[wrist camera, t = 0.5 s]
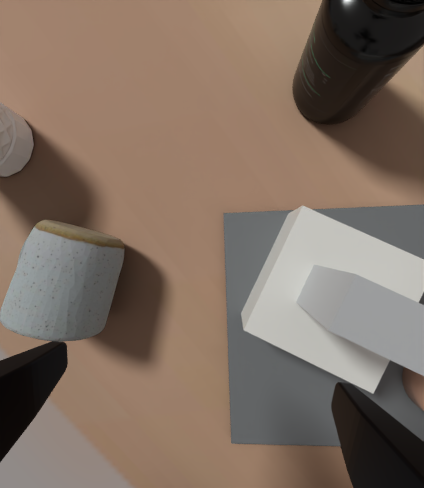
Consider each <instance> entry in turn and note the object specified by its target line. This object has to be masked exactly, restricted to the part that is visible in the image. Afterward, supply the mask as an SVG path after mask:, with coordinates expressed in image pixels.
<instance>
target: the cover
mask: <svg viewBox="0 0 424 488" xmlns="http://www.w3.org/2000/svg"><path fill="white" fill-rule="evenodd" d="M423 292H424V259H422V258H419V257H417V256H415V255H413V254H410V253H408V252H406V251H404V250H401V249H399V248H397V247H395V246H392V245H390V244H388V243H386V242H383V241H381V240H379V239H377V238H374V237H372V236H370V235H368V234H365V233H363V232H361V231H359V230H356V229H354V228H352V227H350V226H347V225H345V224H343V223H341V222H338V221H336V220H334V219H332V218H329V217H327V216H325V215H323V214H320V213H318V212H316V211H314V210H311V209H309V208H307V207H305V206H301V207H299V208H298V209H296V210H294V211H292V212H290V213H288V215H287V217H286V219H285V222H284V224H283V226H282V228H281V230H280V232H279V234H278V236H277V238H276V241H275V243H274V245H273V247H272V249H271V251H270V253H269V255H268V257H267V260H266V262H265V264H264V266H263V268H262V270H261V272H260V274H259V276H258V279H257V281H256V283H255V285H254V287H253V289H252V291H251V293H250V295H249V298H248V300H247V302H246V304H245V306H244V308H243V310H242V312H241V317H242V323H243V330H244V331H246V332H248V333H250V334H252V335H254V336H257V337H259V338H261V339H263V340H265V341H267V342H269V343H271V344H273V345H275V346H277V347H279V348H281V349H283V350H285V351H287V352H289V353H291V354H293V355H295V356H297V357H299V358H301V359H303V360H305V361H307V362H309V363H311V364H314V365H316V366H318V367H320V368H322V369H324V370H326V371H328V372H330V373H332V374H334V375H336V376H338V377H340V378H342V379H344V380H346V381H348V382H350V383H352V384H354V385H356V386H358V387H360V388H362V389H364V390H366V391H369V392H371V393H374V391H375V389H376V387H377V385H378V383H379V381H380V379H381V377H382V375H383V373H384V371H385V369H386V367H387V365H388V363H389V361H390V360H391V361H393V362H395V363H397V364H400V365H402V366H404V367H406V368H408V369H410V370H412V371H414V372H416V373H418V374H420V375H423V376H424V305H422V304H420V303H419V301H420V298H421V296H422V294H423Z"/></svg>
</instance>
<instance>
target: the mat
mask: <svg viewBox="0 0 424 488" xmlns="http://www.w3.org/2000/svg"><path fill="white" fill-rule="evenodd" d="M312 210H314V211H316V212H318V213H320V214H323V215H325V216H327V217H329V218H332V219H334V220H336V221H338V222H341V223H343V224H345V225H347V226H350V227H352V228H354V229H356V230H359V231H361V232H363V233H365V234H368V235H370V236H372V237H374V238H377V239H379V240H381V241H383V242H386V243H388V244H390V245H392V246H395V247H397V248H399V249H401V250H404V251H406V252H408V253H410V254H413V255H415V256H417V257H419V258H422V259H424V205H405V206H382V207H359V208H335V209H312ZM292 211H294V210H289V211H265V212H242V213H224V240H225V270H226V299H227V329H228V359H229V389H230V418H231V443H235V444H274V445H313V446H341V445H340V441H339V438H338V434H337V430H336V426H335V422H334V418H333V415H332V410H331V402H332V397H333V393H334V388H335V385H336V383H337V382H347V383H350V382H348V381H346V380H344V379H342V378H340V377H338V376H336V375H334V374H332V373H330V372H328V371H326V370H324V369H322V368H320V367H318V366H316V365H314V364H311V363H309V362H307V361H305V360H303V359H301V358H299V357H297V356H295V355H293V354H291V353H289V352H287V351H285V350H283V349H281V348H279V347H277V346H275V345H273V344H271V343H269V342H267V341H265V340H263V339H261V338H259V337H257V336H254V335H252V334H250V333H248V332H246V331H244V330H243V323H242V317H241V312H242V310H243V308H244V306H245V304H246V302H247V300H248V298H249V295H250V293H251V291H252V289H253V287H254V285H255V283H256V281H257V279H258V276H259V274H260V272H261V270H262V268H263V266H264V264H265V262H266V260H267V257H268V255H269V253H270V251H271V249H272V247H273V245H274V243H275V241H276V238H277V236H278V234H279V232H280V230H281V228H282V226H283V224H284V222H285V219H286V217H287V215H288V213H290V212H292ZM419 303H420V304H422V305H424V292H423V294H422V296H421V298H420V301H419ZM403 368H404V366H402V365H400V364H397V363H395V362H393V361H391V360H390V361H389V363H388V365H387V367H386V369H385V371H384V373H383V375H382V377H381V379H380V381H379V383H378V385H377V387H376V389H375V391H374V393H371V392H369V391H366V390H364V389H362V388H360V387H358V386H356V385H354V384H353V385H354V386H355V387H356V388H358V389H359V390H360V391H361V392H363V393H364V394H365V395H366V396H368V397H369V398H370V399H371V400H373V401H374V402H375V403H376V404H378V405H379V406H380V407H381V408H383V409H384V410H385V411H386V412H388V413H389V414H390V415H391V416H393V417H394V418H395V419H396V420H398V421H399V422H400V423H401V424H403V425H404V426H405V427H406V428H408V429H409V430H410V431H411V432H413V433H414V434H415V435H416V436H418V437H419V438H420V439H421V440H423V441H424V411H422V410H421V409H420V408H419V407H418V406H417V405H416V404H414V403H413V402H412V401H411V400H410V398H409V397H408V395H407V394H406V392H405V389H404V386H403V381H402V373H403ZM351 384H352V383H351Z"/></svg>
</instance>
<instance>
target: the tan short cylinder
mask: <svg viewBox="0 0 424 488" xmlns="http://www.w3.org/2000/svg"><path fill="white" fill-rule="evenodd" d="M402 381H403V386H404V389H405V392H406V394H407V395H408V397H409V398H410V400H411V401H412V402H413V403H414V404H416V405H417V406H418V407H419V408H420V409H421V410H422V411H424V376H423V375H420V374H418V373H416V372H414V371H412V370H410V369H408V368H406V367H404V368H403V373H402Z"/></svg>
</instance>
